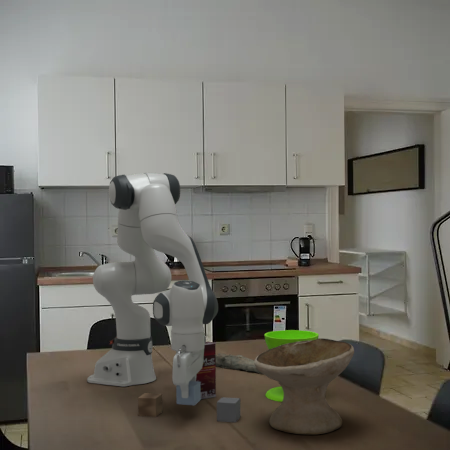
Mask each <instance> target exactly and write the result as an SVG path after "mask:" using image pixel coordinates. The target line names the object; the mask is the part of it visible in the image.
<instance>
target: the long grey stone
mask: <svg viewBox="0 0 450 450" xmlns="http://www.w3.org/2000/svg"><path fill="white" fill-rule="evenodd" d="M254 361H255V359H252V358H248V357H247V356H244V355H241V354H236V355H234V354H232V353H231V354H226V353H221V352H218V353H217V354H216V367H219V368H222V369H232V370H243V371H245V372H254V373H258V374H260V375H261V374H262V375H264V374H263V373H261V372H259V371H258V369H257V368H256V367H255V364H254Z"/></svg>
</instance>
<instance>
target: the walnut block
mask: <svg viewBox="0 0 450 450" xmlns="http://www.w3.org/2000/svg"><path fill="white" fill-rule="evenodd" d="M163 408H164V407H163V393H155V392H154V393H153V392H144V393H143V394H141V395H139V396H138V397H137V411H138V415H137V416H138V417H139V416H140V417H147V418H149V417H150V418H151V417H152V418H156V417H158V416H159V415H160V414H162V413H163Z"/></svg>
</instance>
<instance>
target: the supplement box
mask: <svg viewBox="0 0 450 450" xmlns="http://www.w3.org/2000/svg"><path fill="white" fill-rule="evenodd" d="M216 350H217V349H216V343H214V342H212V341H206V343H205V345H204V357H203V366H202V369H201V370H200V371H199V372H198V373H197V374H196V381H197V382H200V393H201V400H203V399H210V398H216V397H217V385H216V384H217V379H216V377H217V374H216V372H217V371H216V369H217V366H216V355H217V354H216Z"/></svg>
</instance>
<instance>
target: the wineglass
mask: <svg viewBox="0 0 450 450" xmlns="http://www.w3.org/2000/svg"><path fill="white" fill-rule="evenodd" d="M319 335H320V334H319V333H318V332H316V331H309V330H298V329H296V330H295V329H288V330H287V329H285V330H283V329H282V330H274V331H273V330H272V331H268V332H266V333H264V335H263V336H264V341H265V343H266V346H267V350H269V349H272V348H275V347H278V346H280V345H283V344H287V343H293V342H299V341H306V340H309V341H310V340H316V339H319ZM265 398H267V399H268V400H271V401H273V402H280V403H282V401H283V398H284V392H283V389H282V387H281V385H280V386H275V387H273V388H269V389H268V390H267V391H266V393H265Z"/></svg>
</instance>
